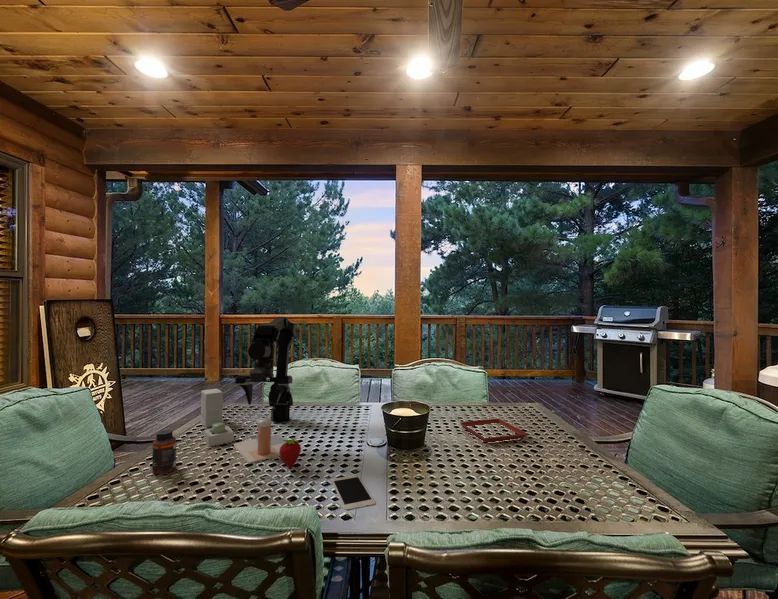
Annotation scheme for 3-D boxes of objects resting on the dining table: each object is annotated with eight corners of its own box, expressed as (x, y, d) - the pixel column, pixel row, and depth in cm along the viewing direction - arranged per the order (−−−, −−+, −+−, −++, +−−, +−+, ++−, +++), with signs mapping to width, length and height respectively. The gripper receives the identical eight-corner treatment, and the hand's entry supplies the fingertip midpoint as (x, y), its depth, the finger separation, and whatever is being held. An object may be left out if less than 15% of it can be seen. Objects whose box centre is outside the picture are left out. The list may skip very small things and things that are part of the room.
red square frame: (498, 426, 150) (498, 417, 150) (528, 442, 133) (528, 433, 133) (459, 430, 145) (459, 422, 145) (484, 448, 127) (484, 438, 127)
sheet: (278, 435, 136) (278, 433, 136) (298, 451, 122) (298, 449, 122) (232, 445, 126) (232, 443, 126) (248, 464, 112) (248, 462, 112)
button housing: (227, 435, 136) (227, 425, 136) (233, 441, 129) (233, 431, 129) (203, 439, 131) (203, 429, 131) (208, 447, 125) (208, 436, 125)
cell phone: (344, 512, 88) (344, 509, 88) (330, 481, 103) (330, 479, 103) (375, 505, 91) (375, 503, 91) (357, 476, 106) (357, 474, 106)
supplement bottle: (180, 467, 109) (181, 429, 109) (162, 476, 104) (163, 436, 104) (165, 464, 111) (166, 427, 111) (147, 473, 106) (147, 433, 106)
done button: (223, 431, 133) (223, 421, 133) (226, 435, 130) (226, 425, 130) (210, 434, 131) (211, 424, 131) (213, 437, 127) (213, 427, 127)
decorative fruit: (275, 473, 106) (275, 438, 106) (285, 462, 114) (285, 429, 114) (294, 475, 105) (295, 440, 106) (304, 463, 113) (304, 430, 113)
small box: (222, 424, 147) (223, 391, 147) (205, 428, 143) (205, 394, 143) (217, 419, 153) (217, 388, 153) (200, 422, 149) (200, 390, 149)
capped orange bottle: (265, 449, 122) (265, 417, 122) (273, 452, 120) (274, 419, 120) (254, 453, 118) (254, 420, 118) (263, 456, 116) (263, 423, 116)
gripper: (229, 359, 124) (226, 407, 122) (285, 360, 124) (282, 408, 121) (243, 359, 135) (239, 403, 133) (293, 360, 135) (291, 404, 132)
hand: (262, 404), depth 130 cm, fingers open, 9 cm apart
